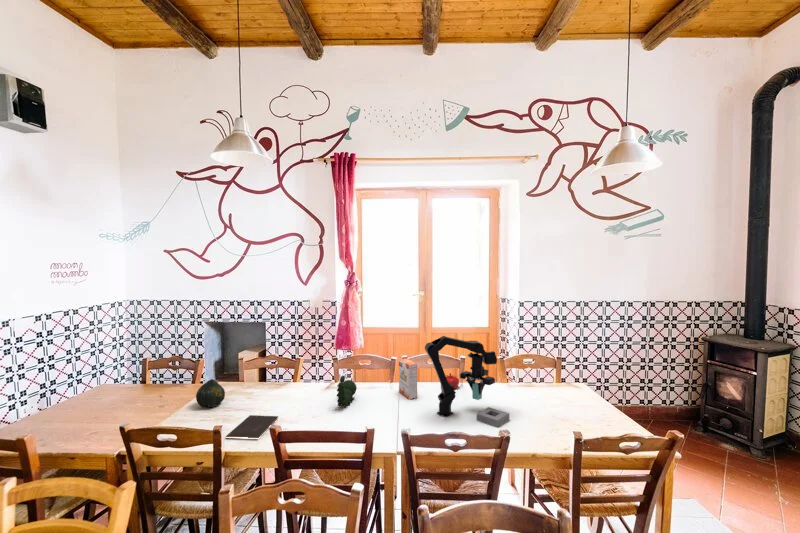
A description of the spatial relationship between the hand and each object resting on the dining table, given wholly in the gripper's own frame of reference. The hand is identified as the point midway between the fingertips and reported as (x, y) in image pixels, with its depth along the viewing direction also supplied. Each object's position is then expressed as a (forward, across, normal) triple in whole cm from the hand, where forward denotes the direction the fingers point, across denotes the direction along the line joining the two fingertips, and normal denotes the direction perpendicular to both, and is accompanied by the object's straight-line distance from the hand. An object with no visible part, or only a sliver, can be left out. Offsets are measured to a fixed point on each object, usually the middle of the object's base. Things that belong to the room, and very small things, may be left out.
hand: (477, 393), depth 214 cm
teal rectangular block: (+3, 0, 0) cm, 3 cm away
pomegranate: (+10, +33, -22) cm, 41 cm away
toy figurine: (+10, +63, +39) cm, 75 cm away
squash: (+10, +117, +94) cm, 151 cm away
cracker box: (+10, +44, +7) cm, 46 cm away
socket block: (+10, -12, +4) cm, 16 cm away
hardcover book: (+10, +70, +92) cm, 116 cm away
